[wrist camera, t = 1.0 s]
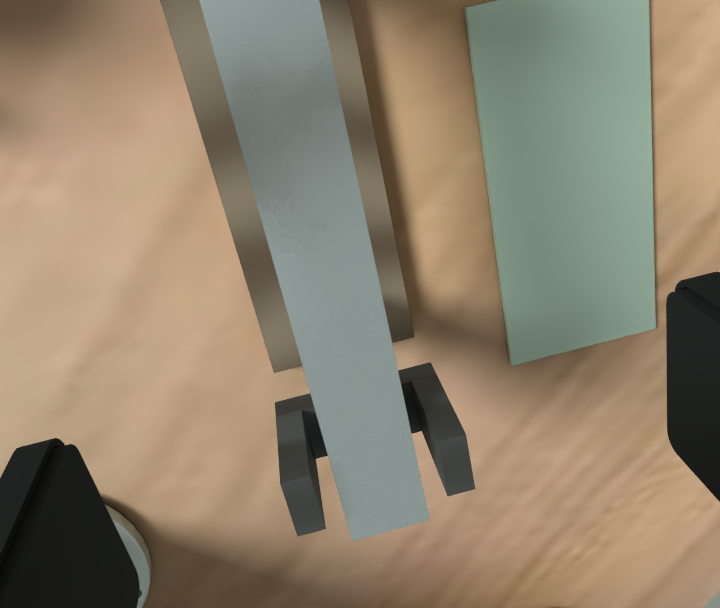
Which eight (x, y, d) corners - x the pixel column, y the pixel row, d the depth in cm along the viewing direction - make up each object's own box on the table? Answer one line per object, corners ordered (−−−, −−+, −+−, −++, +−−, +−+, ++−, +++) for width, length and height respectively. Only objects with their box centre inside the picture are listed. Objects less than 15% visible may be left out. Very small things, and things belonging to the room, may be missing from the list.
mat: (652, 325, 42) (655, 328, 42) (509, 362, 41) (512, 366, 41) (644, -35, 33) (648, -35, 33) (464, 7, 33) (466, 7, 32)
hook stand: (409, 327, 39) (502, 521, 25) (273, 362, 39) (288, 579, 25) (312, -165, 29) (375, -317, 15) (125, -124, 29) (3, -239, 14)
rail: (412, 470, 29) (430, 520, 26) (342, 488, 28) (351, 540, 26) (258, -237, 18) (260, -277, 16) (146, -213, 18) (128, -249, 15)
